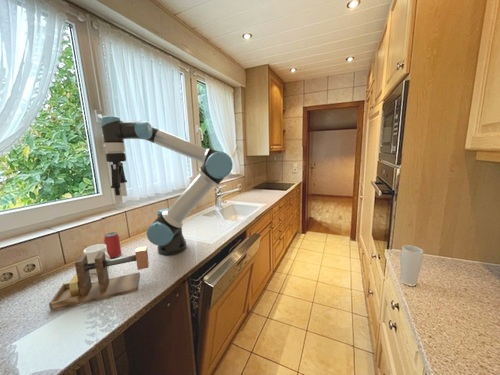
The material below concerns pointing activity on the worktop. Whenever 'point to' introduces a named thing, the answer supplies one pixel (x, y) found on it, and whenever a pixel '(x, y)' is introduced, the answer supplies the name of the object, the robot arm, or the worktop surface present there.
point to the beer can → (112, 244)
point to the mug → (95, 254)
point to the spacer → (74, 287)
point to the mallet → (126, 260)
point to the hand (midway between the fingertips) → (121, 199)
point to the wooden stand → (94, 284)
